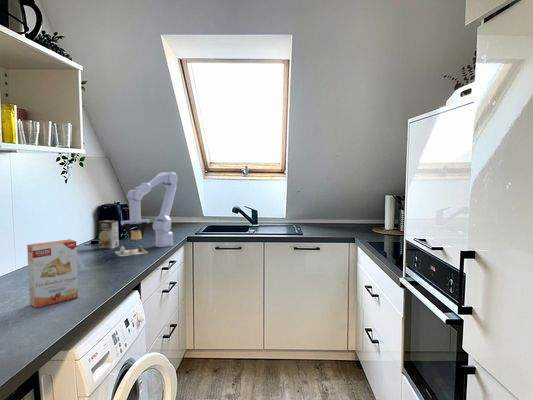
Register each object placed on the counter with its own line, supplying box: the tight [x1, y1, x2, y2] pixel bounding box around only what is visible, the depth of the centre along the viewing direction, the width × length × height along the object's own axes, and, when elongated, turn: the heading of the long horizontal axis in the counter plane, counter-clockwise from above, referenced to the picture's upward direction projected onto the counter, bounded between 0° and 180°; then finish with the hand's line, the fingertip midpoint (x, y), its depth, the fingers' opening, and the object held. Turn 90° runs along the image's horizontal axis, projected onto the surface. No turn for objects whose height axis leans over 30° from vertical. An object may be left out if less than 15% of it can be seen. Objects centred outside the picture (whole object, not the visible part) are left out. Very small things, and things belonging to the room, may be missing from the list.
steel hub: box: [119, 245, 126, 253], centre depth 198 cm, size 2×2×4 cm
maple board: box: [114, 247, 149, 257], centre depth 201 cm, size 15×13×1 cm
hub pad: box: [114, 251, 130, 256], centre depth 199 cm, size 7×7×1 cm
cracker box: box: [26, 238, 79, 309], centre depth 129 cm, size 14×6×21 cm, turn 138°
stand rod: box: [137, 245, 143, 252], centre depth 203 cm, size 2×2×3 cm
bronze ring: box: [129, 230, 143, 241], centre depth 201 cm, size 6×6×4 cm
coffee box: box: [98, 219, 120, 249], centre depth 214 cm, size 9×6×16 cm
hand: (135, 237), depth 202 cm, fingers closed on bronze ring, 6 cm apart
